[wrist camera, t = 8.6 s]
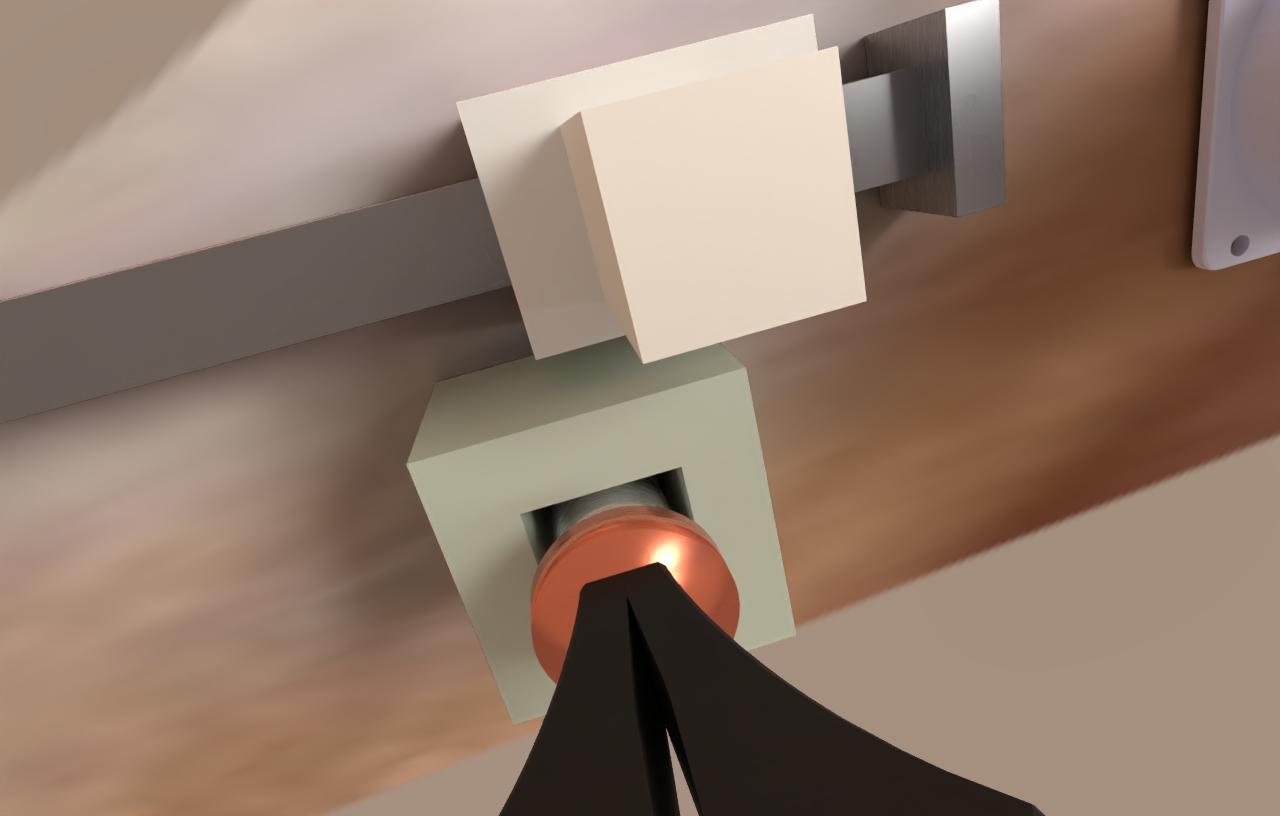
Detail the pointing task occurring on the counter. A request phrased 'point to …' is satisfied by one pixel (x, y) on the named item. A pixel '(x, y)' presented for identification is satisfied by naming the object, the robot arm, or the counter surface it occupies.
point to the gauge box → (591, 482)
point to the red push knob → (622, 561)
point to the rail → (468, 237)
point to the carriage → (674, 193)
